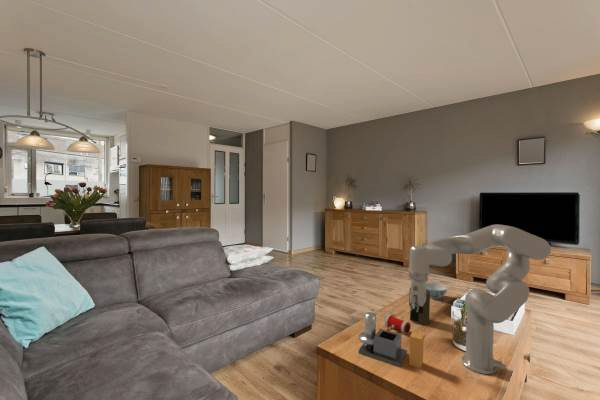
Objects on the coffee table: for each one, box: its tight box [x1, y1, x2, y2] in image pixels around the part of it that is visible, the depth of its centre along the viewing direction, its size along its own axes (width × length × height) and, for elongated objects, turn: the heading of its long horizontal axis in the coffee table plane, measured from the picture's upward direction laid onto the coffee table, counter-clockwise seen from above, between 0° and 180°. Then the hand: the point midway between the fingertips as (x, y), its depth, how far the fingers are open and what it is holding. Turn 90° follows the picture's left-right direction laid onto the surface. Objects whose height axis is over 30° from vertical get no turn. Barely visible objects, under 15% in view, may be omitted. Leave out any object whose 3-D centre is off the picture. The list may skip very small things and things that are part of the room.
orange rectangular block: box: [408, 331, 425, 369], centre depth 120 cm, size 4×4×12 cm
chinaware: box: [426, 282, 448, 300], centre depth 199 cm, size 15×15×8 cm
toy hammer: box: [384, 313, 412, 335], centre depth 146 cm, size 23×12×6 cm, turn 127°
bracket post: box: [358, 311, 408, 368], centre depth 128 cm, size 20×12×16 cm, turn 57°
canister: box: [408, 287, 431, 326], centre depth 162 cm, size 11×10×20 cm
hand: (416, 316), depth 120 cm, fingers open, 9 cm apart
